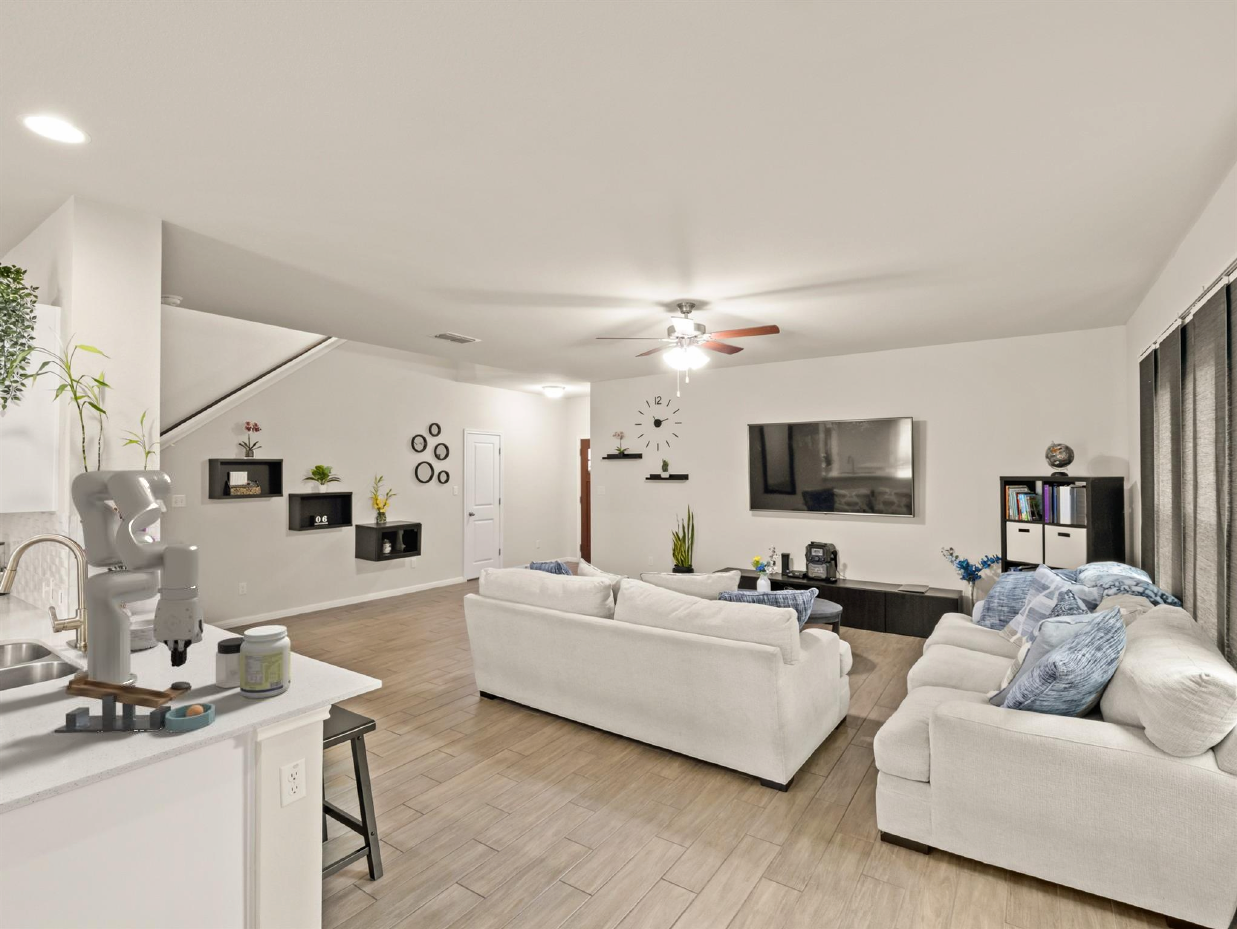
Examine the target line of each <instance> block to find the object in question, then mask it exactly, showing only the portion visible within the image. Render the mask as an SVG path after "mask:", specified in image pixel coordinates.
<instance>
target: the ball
mask: <svg viewBox="0 0 1237 929" xmlns="http://www.w3.org/2000/svg"><path fill="white" fill-rule="evenodd" d="M200 714H203V708H202V707H201V706H200V705H193V706H191V707H190V708H189V709H188V710H187V712H186V717H192V716H197V715H200Z"/></svg>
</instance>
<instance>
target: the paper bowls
mask: <svg viewBox="0 0 1237 929" xmlns="http://www.w3.org/2000/svg"><path fill="white" fill-rule="evenodd" d="M153 625H154V618H147V619H139V620H138V619H137V620H132V621H131V620H130V651H139V650H140V649H141V650H145V649H146V648H147V649H150V647H151V648H153V647H156V646H157V645H159V644H161V643H160V642H157V641H156V638H154V637H153ZM147 649H146V650H147ZM141 650H140V651H141Z"/></svg>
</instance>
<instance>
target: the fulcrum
mask: <svg viewBox="0 0 1237 929" xmlns="http://www.w3.org/2000/svg"><path fill="white" fill-rule="evenodd" d="M128 686H134V687H136V684H130V685H128ZM121 704H122V708H121V709H122V710H121V712H122V714H117V702H116V695H105V696H102V700H101V713H102V714H101V715H99V714H98V715H90V707H89V706H87V707H85V706H83V707H81V706H79V707H77V708H75V709H73V710H71V711H68V712H67V713H65V724H64V725H61V726H60V727H58V728H56V729H54V734H55V733H56V734H57V733H58V734H64V733H71V734H72V733H112V732H111V731H133V732H135V731H134V730H138V731H137V732H141V731H140V730H144V731H143V732H148V731H147V730H159V729H160V728H162V727H163V728H165V727H166V726H165V725H166V713H167V712H169V711H171V710H172V706H171V705H162V706H161V707H159V708H157V709H155V708H154V710H151V711H150V712H149V714H136V706H137V705H131V704H124V703H121ZM164 726H165V727H164ZM163 728H162V729H163ZM160 730H161V729H160ZM160 730H159V731H160ZM98 731H99V732H98ZM101 731H103V732H101ZM108 731H110V732H108Z"/></svg>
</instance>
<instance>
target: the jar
mask: <svg viewBox="0 0 1237 929" xmlns="http://www.w3.org/2000/svg"><path fill="white" fill-rule="evenodd" d="M243 637H244V636H235V637H230V638H225V639H221V640H220V641H218V642H217V651H216V652H215V686H216V687H220V688H223V689H231V688H237V687H240V647H241V644H242V643H243V642H244V641H245V640H244V639H243Z"/></svg>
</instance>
